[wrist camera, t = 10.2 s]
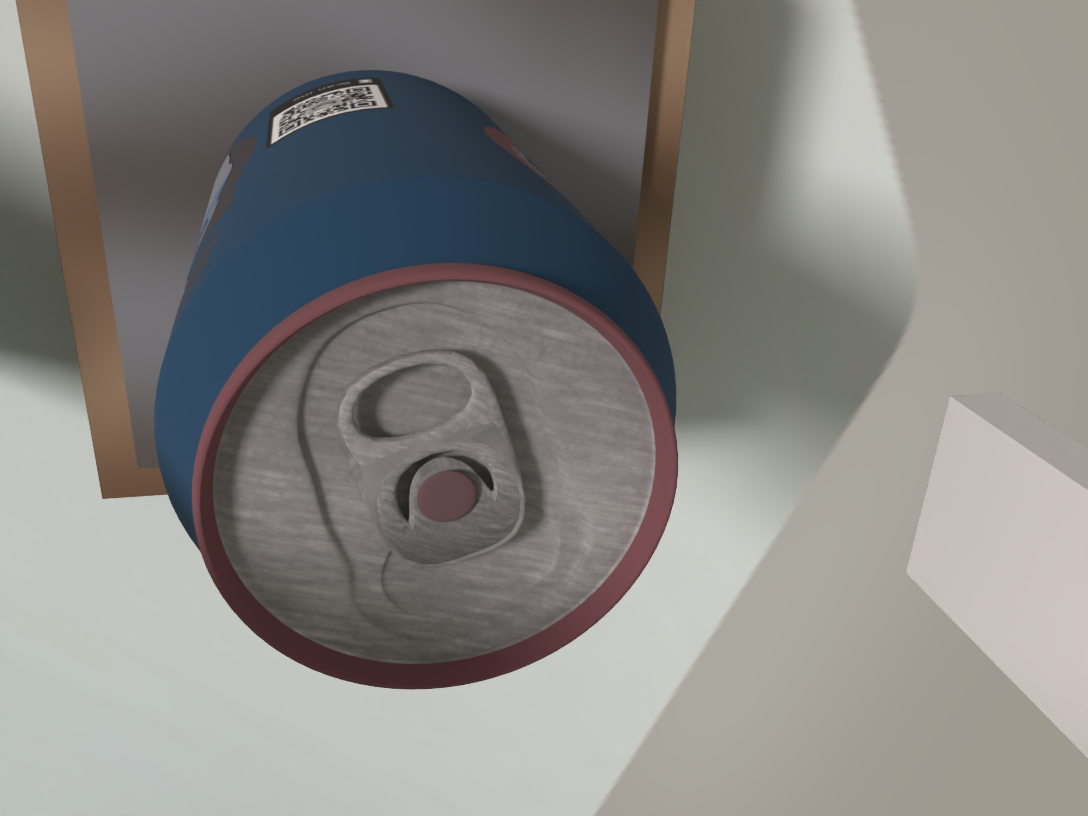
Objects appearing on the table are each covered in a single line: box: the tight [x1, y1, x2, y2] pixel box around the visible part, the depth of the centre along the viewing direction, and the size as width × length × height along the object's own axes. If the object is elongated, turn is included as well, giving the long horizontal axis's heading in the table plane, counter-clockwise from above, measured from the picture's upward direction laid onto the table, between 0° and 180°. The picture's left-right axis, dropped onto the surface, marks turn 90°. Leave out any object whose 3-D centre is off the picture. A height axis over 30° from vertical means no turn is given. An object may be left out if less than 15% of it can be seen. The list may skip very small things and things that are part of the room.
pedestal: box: [16, 0, 695, 499], centre depth 24 cm, size 14×14×6 cm
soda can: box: [154, 70, 678, 689], centre depth 17 cm, size 7×7×12 cm
